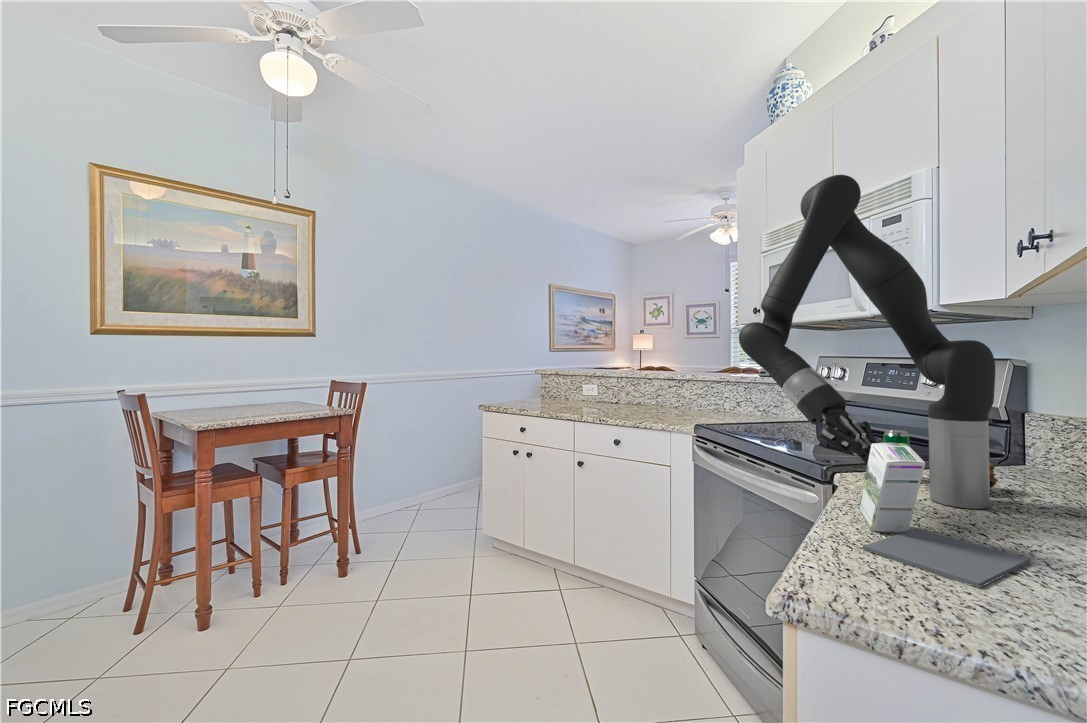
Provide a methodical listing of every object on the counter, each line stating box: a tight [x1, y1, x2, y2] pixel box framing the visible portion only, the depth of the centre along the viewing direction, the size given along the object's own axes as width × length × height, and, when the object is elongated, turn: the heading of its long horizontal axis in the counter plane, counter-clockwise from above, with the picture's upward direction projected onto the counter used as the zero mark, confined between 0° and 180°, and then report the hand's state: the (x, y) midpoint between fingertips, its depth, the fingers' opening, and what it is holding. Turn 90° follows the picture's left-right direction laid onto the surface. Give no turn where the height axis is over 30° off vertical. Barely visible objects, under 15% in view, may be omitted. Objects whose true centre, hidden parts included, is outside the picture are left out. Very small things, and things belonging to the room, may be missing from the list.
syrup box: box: [858, 442, 926, 534], centre depth 79 cm, size 6×6×14 cm
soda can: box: [883, 429, 910, 447], centre depth 114 cm, size 5×5×12 cm
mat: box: [862, 527, 1031, 588], centre depth 70 cm, size 16×14×1 cm
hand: (881, 469), depth 82 cm, fingers closed
